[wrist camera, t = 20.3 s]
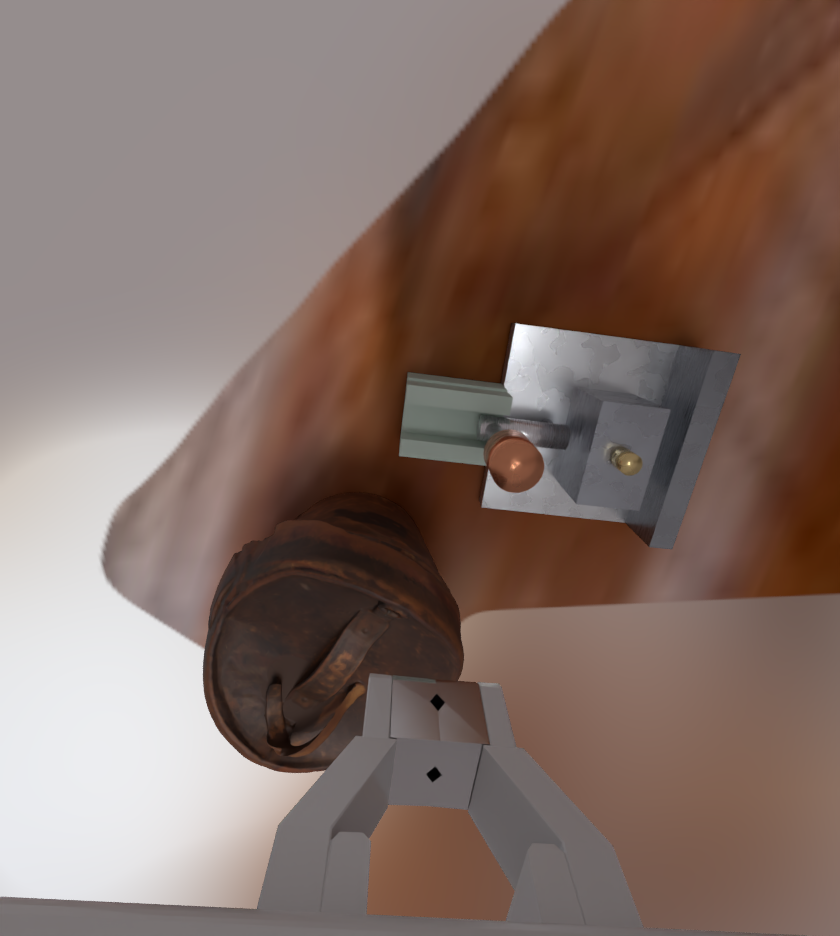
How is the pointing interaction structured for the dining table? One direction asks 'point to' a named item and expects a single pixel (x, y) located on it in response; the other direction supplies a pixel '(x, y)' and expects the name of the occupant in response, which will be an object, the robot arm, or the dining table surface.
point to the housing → (610, 448)
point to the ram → (518, 449)
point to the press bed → (627, 371)
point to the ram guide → (448, 417)
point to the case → (323, 629)
